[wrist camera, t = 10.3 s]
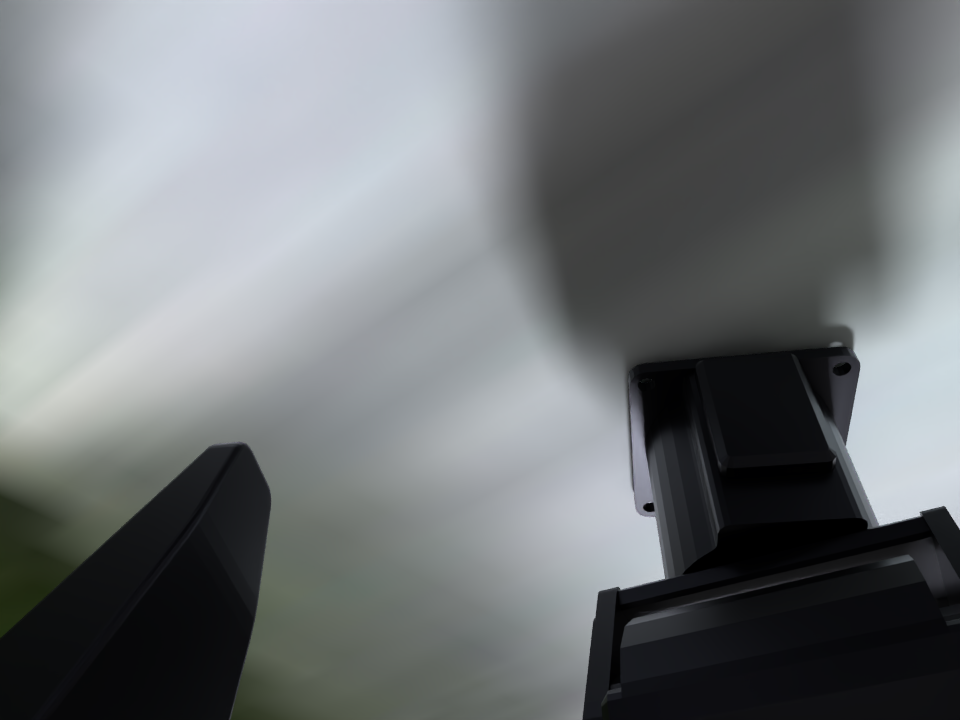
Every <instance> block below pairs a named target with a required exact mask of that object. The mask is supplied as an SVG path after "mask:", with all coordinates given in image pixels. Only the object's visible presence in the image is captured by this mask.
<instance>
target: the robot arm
mask: <svg viewBox="0 0 960 720" xmlns="http://www.w3.org/2000/svg"><path fill="white" fill-rule="evenodd" d="M841 362H845V364H843V365H842V366H839V367H834V366H835V365H837V364H838V363H841ZM859 371H860V362H859V360H858V358H857V356H856V354H855V353H854V351H853V350H852V349H850V348H847V347H831V348H820V349H808V350H796V351H785V352H773V353H761V354H750V355H738V356H727V357H715V358H703V359H692V360H680V361H668V362H657V363H645V364H641V365H638V366H636V367H634V368H633V369H632V370H631V371H630V373H629V377H628V382H629V402H630V422H631V442H632V461H633V481H634V500H635V507H636V511H637V512H638V513H639V514H640V515H642V516H645V517H656V521H657V528H658V534H659V541H660V547H661V554H662V560H663V567H664V573H665V579H663V580H659V581H654V582H650V583H646V584H642V585H638V586H634V587H630V588H626V589H622V590H620V588H619V587H616V588H612V589H607V590H603V591H599V593H598V600H597V609H596V618H595V619H594V621H593V629H592V638H591V647H590V656H589V666H588V675H587V684H586V693H585V702H584V711H583V720H960V529H959V528H958V526H957V525H956V523H955V522H954V520H953V518H952V517H951V515H950V514H949V512H948V511H947V509H946V507H945V506H942V507H938V508H934V509H930V510H926V511H922V512H920V515H921V516H918V517H914V518H910V519H906V520H902V521H898V522H894V523H890V524H886V525H882V526H879V524H878V521H877V519H876V517H875V514H874V512H873V510H872V507H871V505H870V503H869V500H868V498H867V495H866V493H865V491H864V488H863V486H862V484H861V481H860V479H859V477H858V474H857V472H856V470H855V467H854V465H853V463H852V460H851V458H850V456H849V453H848V451H847V449H846V441H847V436H848V431H849V425H850V420H851V415H852V409H853V404H854V398H855V393H856V388H857V382H858V377H859ZM646 378H647V379H652V380H651V381H650V382H647V383H642V382H640V381H641V380H643V379H646ZM649 502H652V503H649ZM270 510H271V493H270V489H269V486H268V483H267V481H266V479H265V477H264V475H263V473H262V471H261V469H260V466H259V464H258V462H257V460H256V458H255V456H254V454H253V452H252V450H251V448H250V447H249V446H248V445H247V444H246V443H243V442H232V443H219V444H214V445H212V446H210V447H208V448H207V449H206V450H205V451H204V452H203V453H202V454H200V455H199V456H198V457H197V458H196V459H195V460H194V461H193V462H192V463H191V464H190V465H188V466H187V467H186V468H185V469H184V470H183V471H182V472H181V473H180V474H179V475H178V476H177V477H175V478H174V479H173V480H172V481H171V482H170V483H169V484H168V485H167V486H166V487H165V488H163V489H162V490H161V491H160V492H159V493H158V494H157V495H156V496H155V497H154V498H153V499H151V500H150V501H149V502H148V503H147V504H146V505H145V506H144V507H143V508H142V509H141V510H139V511H138V512H137V513H136V514H135V515H134V516H133V517H132V518H131V519H130V520H129V521H128V522H126V523H125V524H124V525H123V526H122V527H121V528H120V529H119V530H118V531H117V532H116V533H114V534H113V535H112V536H111V537H110V538H109V539H108V540H107V541H106V542H105V543H104V544H102V545H101V546H100V547H99V548H98V549H97V550H96V551H95V552H94V553H93V554H92V555H91V556H89V557H88V558H87V559H86V560H85V561H84V562H83V563H82V564H81V565H80V566H79V567H77V568H76V569H75V570H74V571H73V572H72V573H71V574H70V575H69V576H68V577H67V578H65V579H64V580H63V581H62V582H61V583H60V584H59V585H58V586H57V587H56V588H55V589H54V590H52V591H51V592H50V593H49V594H48V595H47V596H46V597H45V598H44V599H43V600H42V601H40V602H39V603H38V604H37V605H36V606H35V607H34V608H33V609H32V610H31V611H30V612H28V613H27V614H26V615H25V616H24V617H23V618H22V619H21V620H20V621H19V622H18V623H16V624H15V625H14V626H13V627H12V628H11V629H10V630H9V631H8V632H7V633H6V634H5V635H3V636H2V637H1V638H0V720H230V718H231V714H232V710H233V706H234V702H235V698H236V694H237V690H238V687H239V683H240V679H241V675H242V671H243V667H244V663H245V659H246V655H247V651H248V647H249V643H250V639H251V635H252V631H253V626H254V622H255V616H256V610H257V604H258V598H259V590H260V583H261V576H262V569H263V561H264V554H265V547H266V540H267V532H268V525H269V518H270Z"/></svg>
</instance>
